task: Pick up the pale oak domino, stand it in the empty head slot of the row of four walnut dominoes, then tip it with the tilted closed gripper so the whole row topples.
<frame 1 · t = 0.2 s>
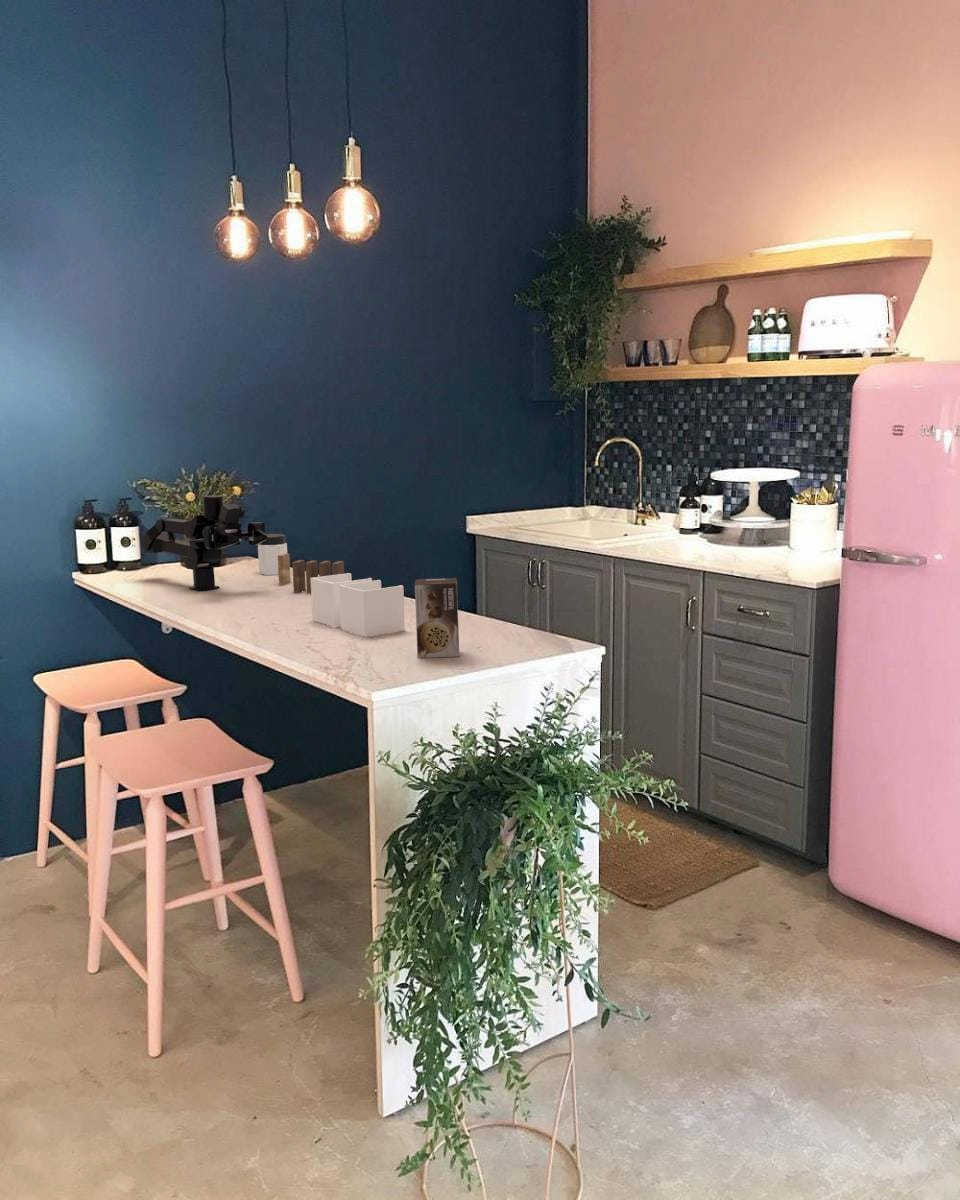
hand: (252, 538, 306), 17 cm above the worktop, tool horizontal, fingers open, 9 cm apart
white open box: (357, 627, 272), on the worktop
jar: (273, 573, 353), on the worktop
domino1: (284, 583, 333), on the worktop
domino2: (299, 591, 319), on the worktop
domino4: (326, 592, 317), on the worktop
coffee box: (438, 655, 241), on the worktop
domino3: (312, 592, 318), on the worktop
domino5: (339, 593, 316), on the worktop
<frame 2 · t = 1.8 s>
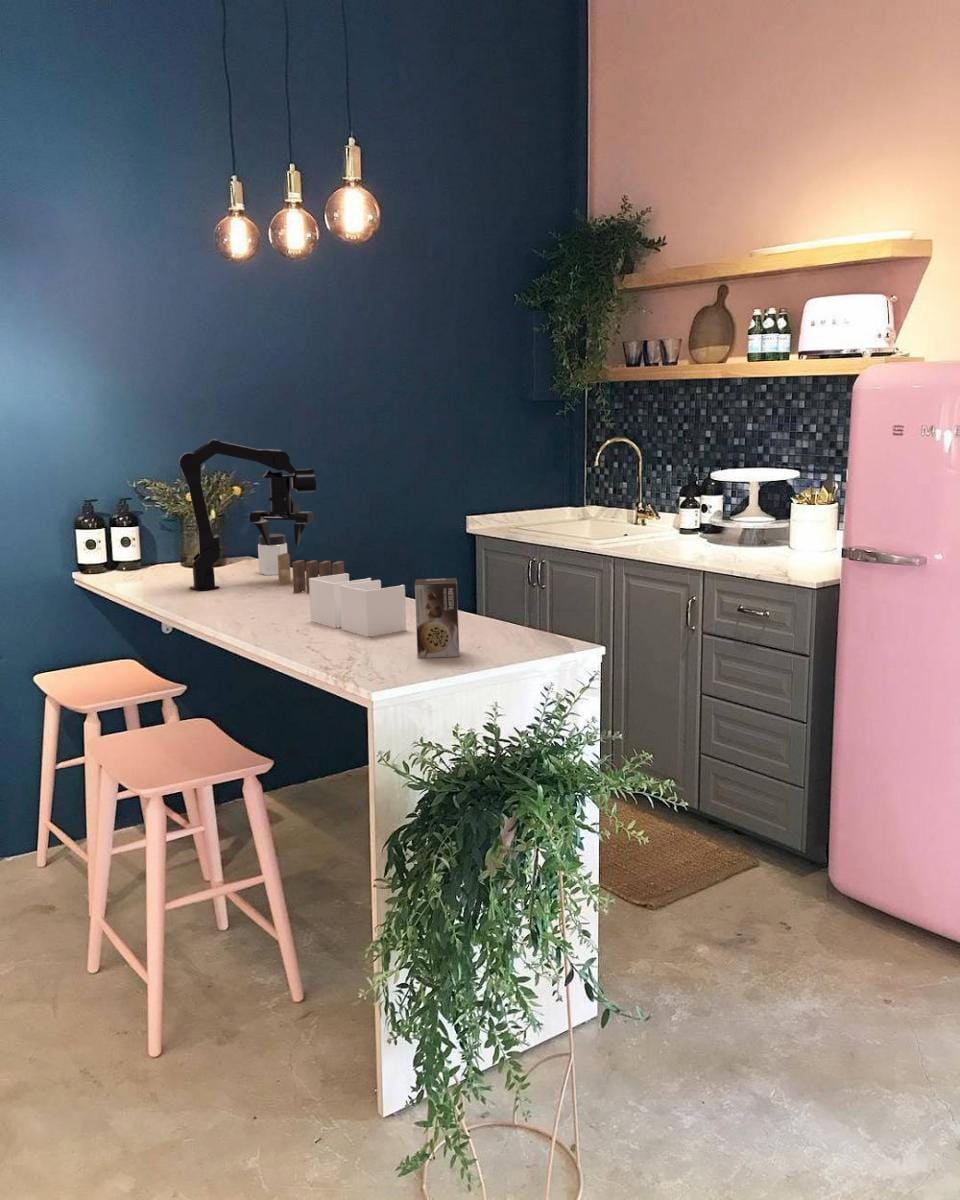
hand: (282, 545, 331), 11 cm above the worktop, tool pointing down, fingers open, 9 cm apart
nothing on the worktop moved.
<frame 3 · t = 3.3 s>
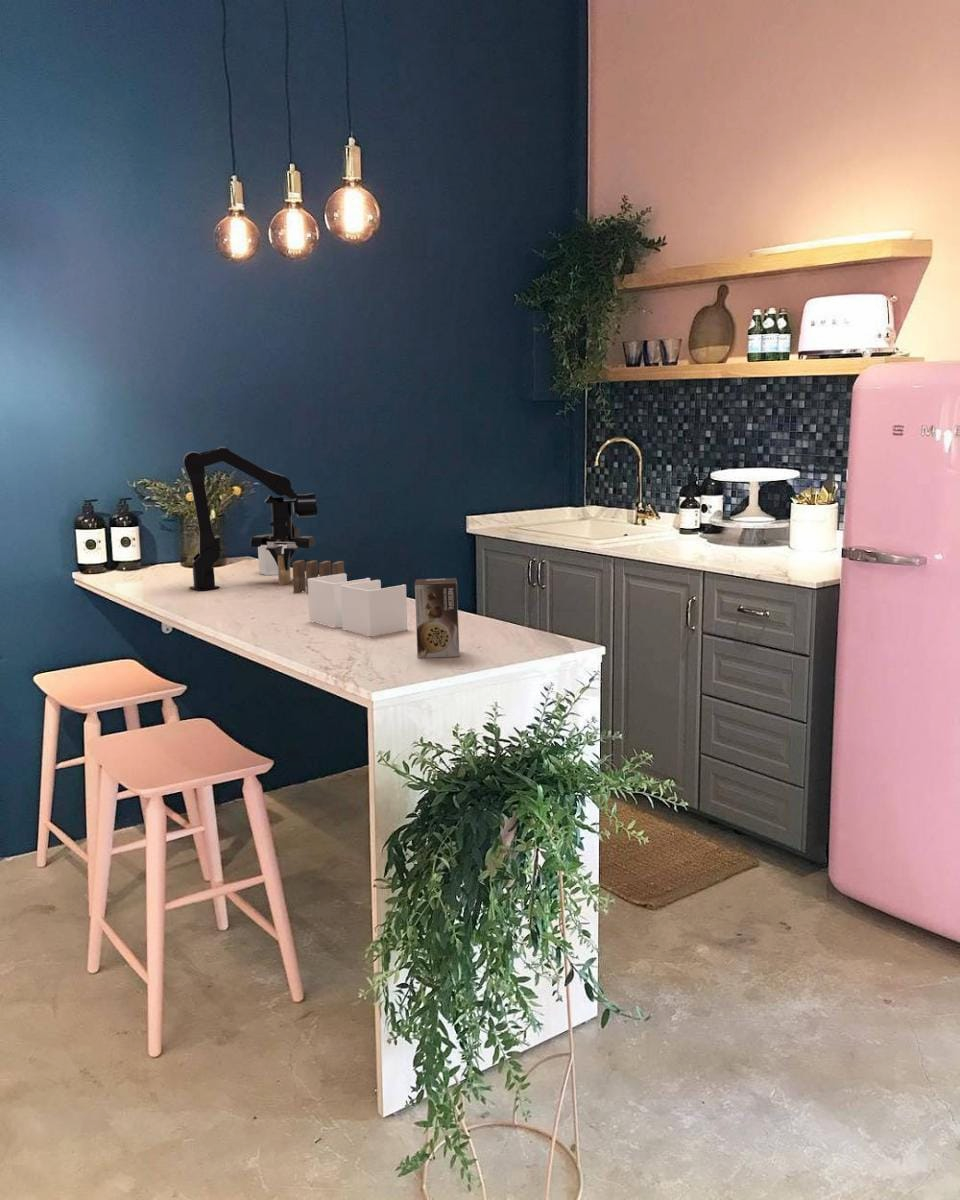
hand: (284, 570, 332), 4 cm above the worktop, tool pointing down, fingers closed on domino1, 2 cm apart
domino1: (284, 583, 333), on the worktop, touching gripper
everything else where it was.
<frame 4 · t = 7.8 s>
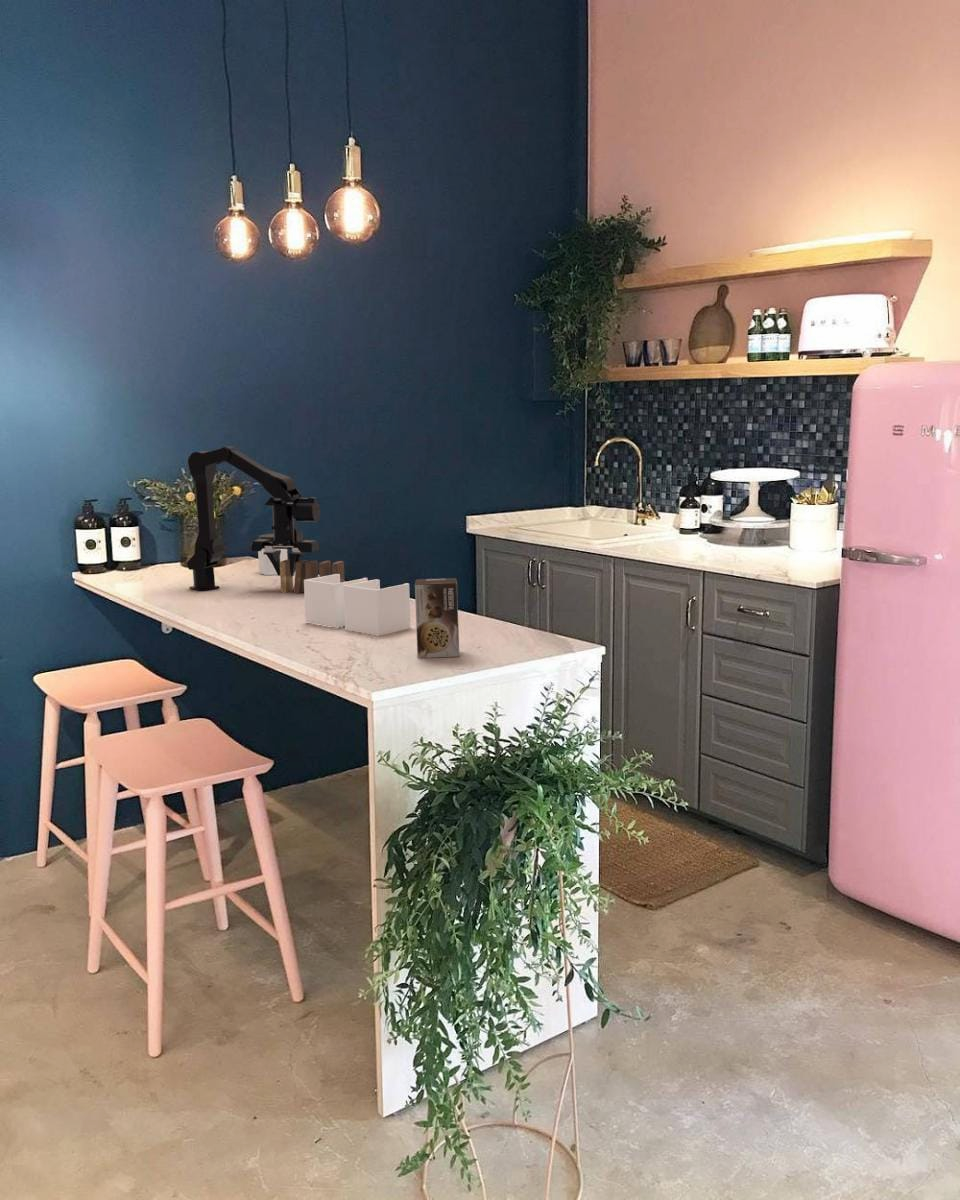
hand: (286, 575, 319), 5 cm above the worktop, tool pointing down, fingers open, 4 cm apart
domino1: (287, 591, 320), on the worktop
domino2: (299, 591, 319), on the worktop, tilted 8°
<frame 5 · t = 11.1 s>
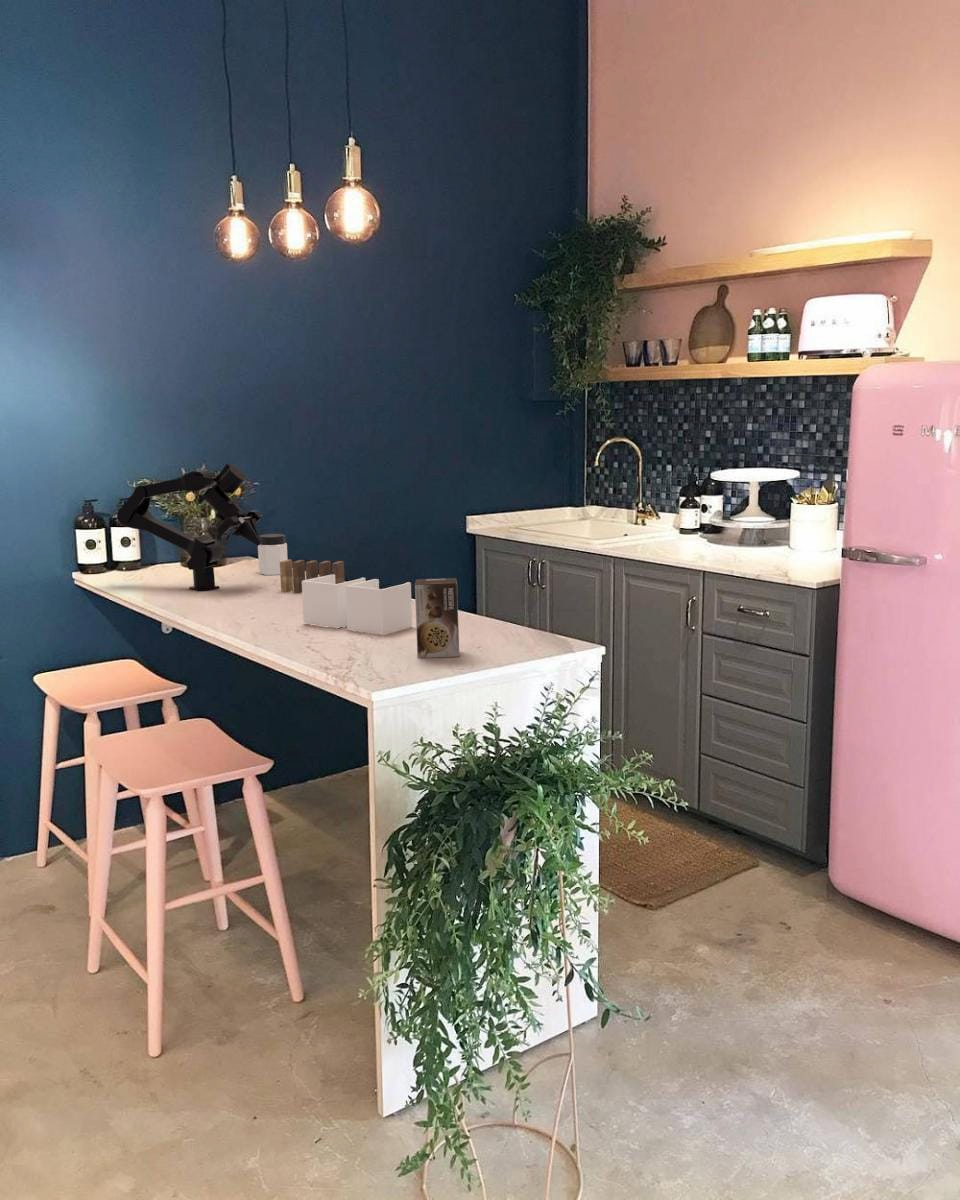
hand: (259, 544, 319), 13 cm above the worktop, tool tilted 45°, fingers closed
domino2: (299, 591, 319), on the worktop
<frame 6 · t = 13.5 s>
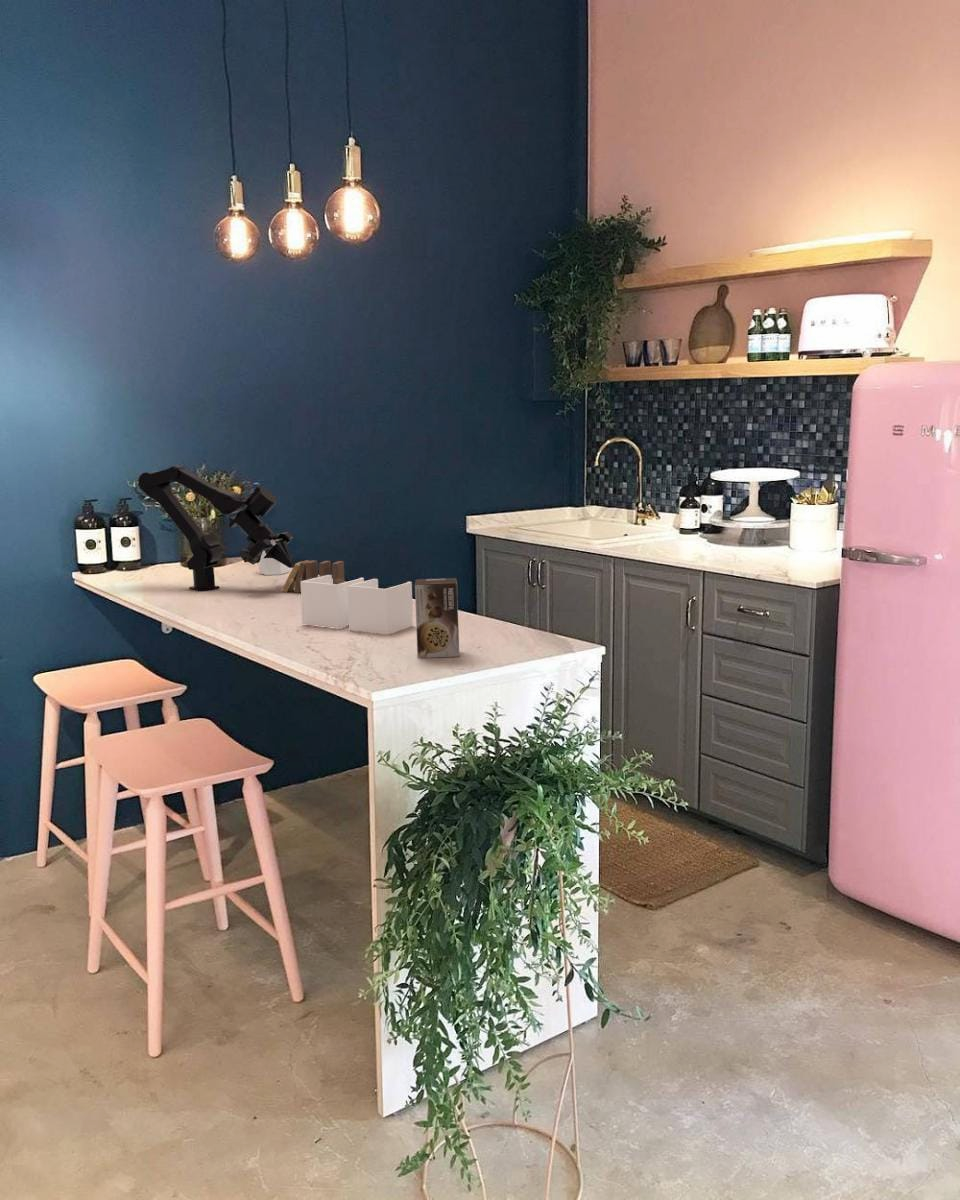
hand: (291, 566, 318), 7 cm above the worktop, tool tilted 45°, fingers closed
domino1: (287, 589, 320), on the worktop, tilted 31°
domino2: (299, 591, 319), on the worktop, tilted 16°
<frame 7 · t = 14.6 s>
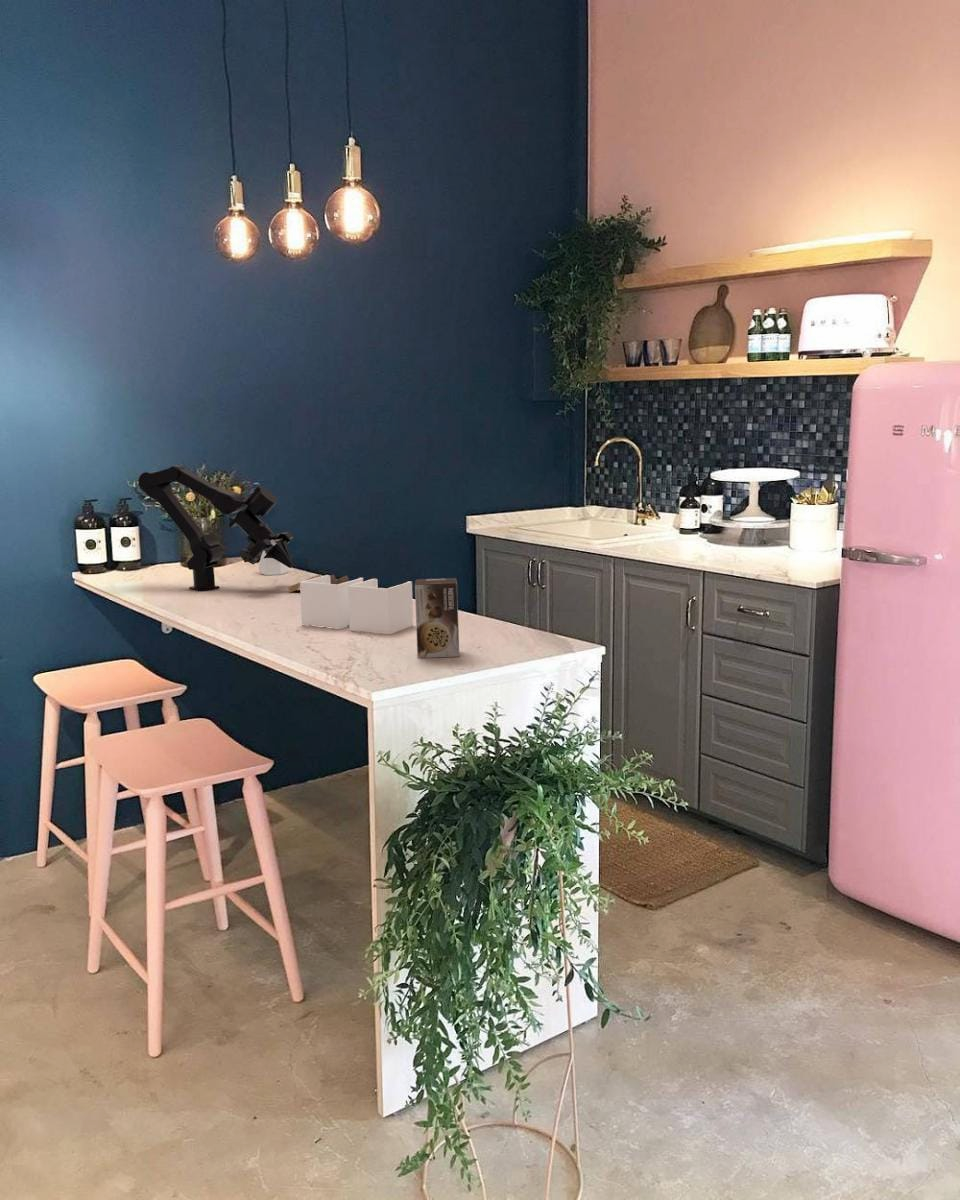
hand: (291, 566, 318), 7 cm above the worktop, tool tilted 45°, fingers closed
domino1: (292, 588, 320), point 1 cm above the worktop, tilted 68°, touching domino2
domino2: (305, 589, 318), point 1 cm above the worktop, tilted 68°, touching domino1, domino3
domino4: (332, 590, 316), point 1 cm above the worktop, tilted 73°, touching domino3, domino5
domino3: (318, 589, 317), point 1 cm above the worktop, tilted 68°, touching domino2, domino4
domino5: (343, 593, 315), on the worktop, tilted 90°, touching domino4
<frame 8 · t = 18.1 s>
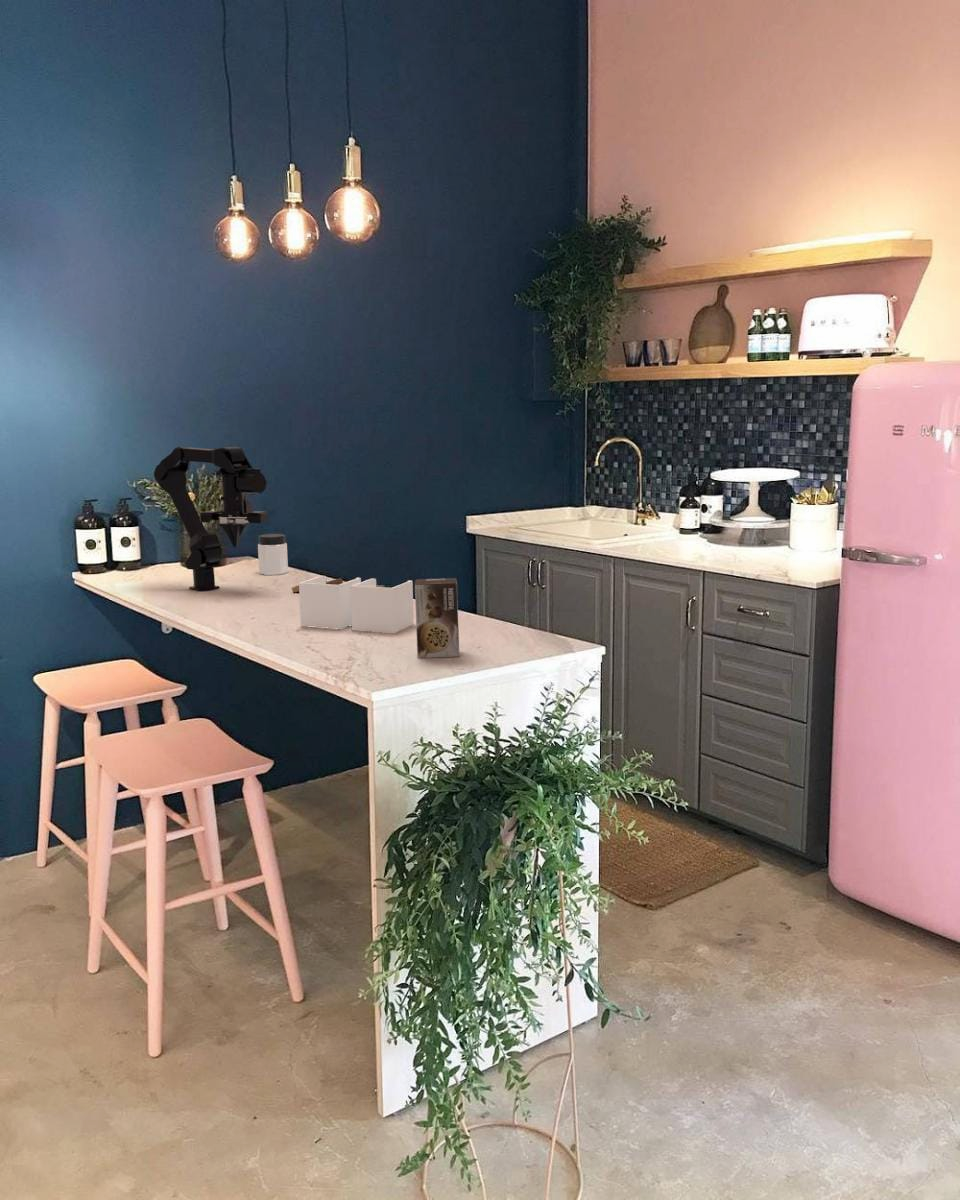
hand: (235, 547, 317), 13 cm above the worktop, tool pointing down, fingers closed
domino1: (296, 588, 319), point 1 cm above the worktop, tilted 72°, touching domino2
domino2: (313, 589, 317), point 1 cm above the worktop, tilted 71°, touching domino1, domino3
domino4: (352, 588, 314), point 1 cm above the worktop, tilted 90°, touching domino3, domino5
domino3: (331, 590, 315), point 1 cm above the worktop, tilted 71°, touching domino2, domino4
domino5: (350, 594, 315), on the worktop, tilted 90°, touching domino4
at the end: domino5 tilted 90°; domino1 tilted 72° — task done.
